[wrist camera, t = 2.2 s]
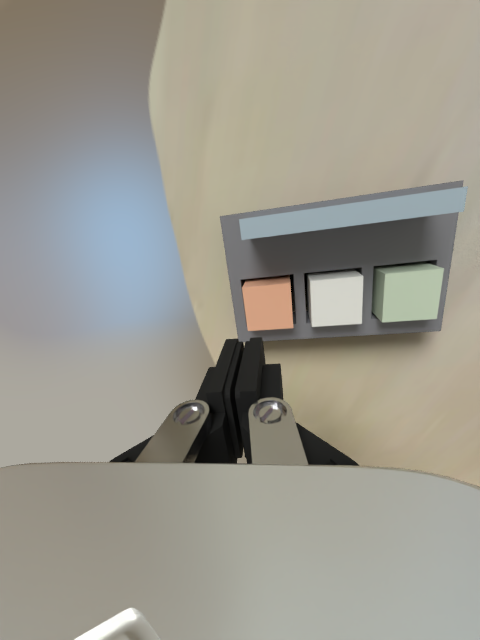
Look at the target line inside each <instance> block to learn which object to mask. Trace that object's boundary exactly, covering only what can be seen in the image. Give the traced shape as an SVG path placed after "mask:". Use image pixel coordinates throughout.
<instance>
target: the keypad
mask: <svg viewBox="0 0 480 640" xmlns="http://www.w3.org/2000/svg"><path fill="white" fill-rule="evenodd" d="M467 188H468V186H467V187H463V181H456V182H449V183H442V184H436V185H429V186H422V187H415V188H409V189H402V190H395V191H388V192H381V193H375V194H368V195H361V196H354V197H348V198H341V199H334V200H327V201H321V202H314V203H307V204H300V205H294V206H287V207H280V208H273V209H267V210H260V211H253V212H246V213H240V214H233V215H226V216H220V221H221V227H222V234H223V241H224V247H225V254H226V261H227V267H228V274H229V281H230V287H231V294H232V301H233V307H234V314H235V321H236V327H237V334H238V340H239V342H241V341H243V342H246V341H250V338H255V337H262V339H263V341H274V340H291V339H309V338H326V337H344V336H362V335H379V334H397V333H414V332H432V331H441V325H442V319H443V312H444V305H445V299H446V292H447V286H448V279H449V272H450V266H451V259H452V253H453V246H454V239H455V233H456V226H457V220H458V213H459V212H463V211H464V207H465V201H466V194H467ZM420 261H423V262H426V263H429V264H432V265H435V266H438V267H441V268H444V272H443V279H442V286H441V293H440V300H439V307H438V314H437V319H428V320H412V321H397V322H381V321H380V320H379V319H378V318H377V316H376V315H375V314H374V313H373V312H372V311H371V310H372V289H373V268H374V266H380V265H390V264H400V263H410V262H420ZM350 268H353V269H355V270H356V271H357V272H359V273H360V274H361V275H363V303H362V324H350V325H335V326H319V327H312V325H311V322H310V318H309V315H308V311H306V306H305V284H304V273H311V272H321V271H331V270H340V269H350ZM291 274H292V276H293V292H294V308H295V312H292V315H293V328H288V329H273V330H257V331H248V329H247V321H246V314H245V306H244V299H243V292H242V287H243V285H244V283H245V281H246V279H252V278H261V277H271V276H281V275H291Z"/></svg>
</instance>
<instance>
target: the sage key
mask: <svg viewBox="0 0 480 640" xmlns="http://www.w3.org/2000/svg"><path fill="white" fill-rule="evenodd" d="M443 272H444V268H441V267H438V266H435V265H432V264H429V263H426V262H423V261H420V262H410V263H400V264H390V265H380V266H374V268H373V289H372V310H371V311H372V312H373V313H374V314H375V315H376V316H377V318H378V319H379V320H380V321H381V322H397V321H412V320H428V319H437V314H438V307H439V300H440V293H441V286H442V279H443Z"/></svg>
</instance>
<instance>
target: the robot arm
mask: <svg viewBox="0 0 480 640" xmlns="http://www.w3.org/2000/svg"><path fill="white" fill-rule="evenodd" d="M243 447H244V452H245V457H246V459H247V464H237V458H241V457H242V455H243ZM0 640H480V487H479V486H476V485H473V484H470V483H467V482H464V481H460V480H457V479H454V478H451V477H447V476H443V475H438V474H433V473H428V472H424V471H418V470H410V469H401V468H390V467H370V466H359V465H358V464H357V463H356V462H355V461H353V460H352V459H351V458H349V457H348V456H346V455H345V454H343V453H342V452H340V451H339V450H337V449H336V448H334V447H332V446H331V445H329V444H328V443H326V442H325V441H323V440H322V439H320V438H319V437H317V436H316V435H314V434H313V433H311V432H310V431H308V430H307V429H305V428H304V427H302V426H301V425H299V424H298V423H296V422H295V419H294V416H293V413H292V409H291V407H290V405H289V404H288V403H287V402H285V401H284V400H283V388H282V376H281V366H280V364H265V355H264V347H263V339H262V337H255V338H250V341H246V343H245V347H244V345H243V341H241V342H239V340H238V339H226V341H225V343H224V346H223V349H222V351H221V354H220V356H219V359H218V362H217V364H216V367H210V368H209V369H208V371H207V373H206V376H205V378H204V380H203V383H202V385H201V387H200V390H199V392H198V394H197V397H196V399H195V400H189V401H185V402H183V403H181V404H179V405H178V406H176V407H175V408H174V409H173V410H172V411H171V412H170V414H169V415H168V416H167V418H166V419H165V420H164V422H163V423H162V425H161V426H160V427H159V429H158V430H157V432H156V433H155V435H153V436H151V437H150V438H148V439H146V440H145V441H143V442H142V443H139V444H138V445H136V446H134V447H133V448H131V449H129V450H128V451H126V452H124V453H122V454H121V455H119V456H117V457H115V458H114V459H113V460H111V461H110V462H52V463H51V462H50V463H29V464H19V465H11V466H6V467H1V468H0Z"/></svg>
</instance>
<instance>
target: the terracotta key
mask: <svg viewBox="0 0 480 640" xmlns="http://www.w3.org/2000/svg"><path fill="white" fill-rule="evenodd" d="M242 292H243V299H244V306H245V314H246V321H247V329H248V331H257V330H273V329H288V328H293V315H292V300H291V285H290V277H289V275H281V276H271V277H261V278H252V279H246V281H245V283H244V285H243V287H242Z"/></svg>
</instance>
